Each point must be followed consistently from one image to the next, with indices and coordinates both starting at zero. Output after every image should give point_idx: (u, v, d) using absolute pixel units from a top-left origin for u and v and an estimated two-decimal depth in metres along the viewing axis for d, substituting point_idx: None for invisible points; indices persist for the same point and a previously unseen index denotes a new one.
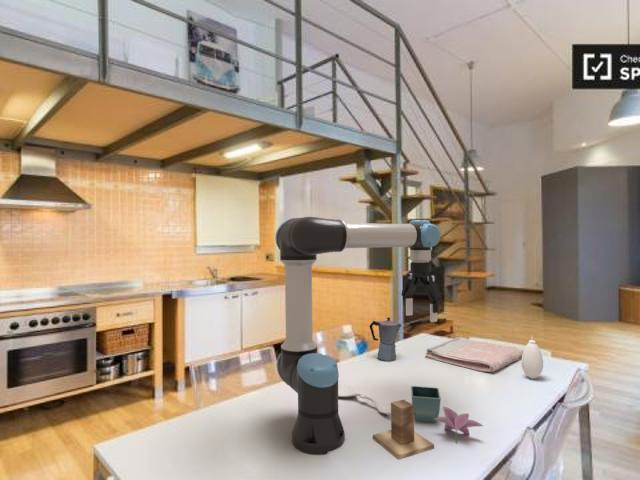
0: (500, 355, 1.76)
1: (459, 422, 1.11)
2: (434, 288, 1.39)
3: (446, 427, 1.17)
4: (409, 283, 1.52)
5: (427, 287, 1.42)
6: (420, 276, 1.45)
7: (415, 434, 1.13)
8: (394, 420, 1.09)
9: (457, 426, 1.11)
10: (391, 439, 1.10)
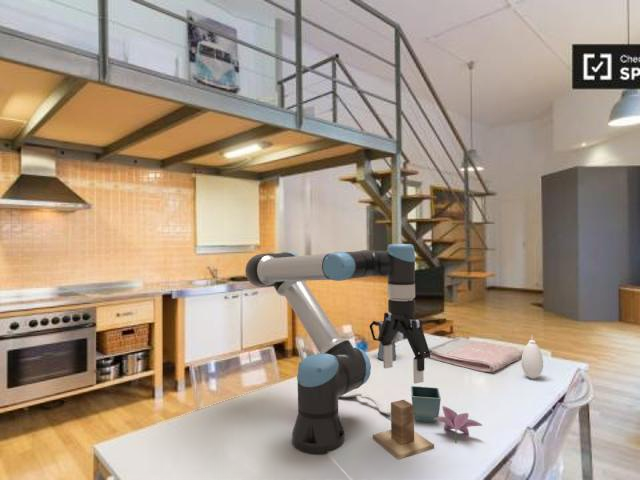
0: (500, 355, 1.76)
1: (459, 422, 1.12)
2: (419, 338, 1.02)
3: (446, 427, 1.17)
4: (388, 325, 1.16)
5: (410, 335, 1.06)
6: (401, 319, 1.08)
7: (415, 434, 1.13)
8: (394, 420, 1.09)
9: (456, 425, 1.12)
10: (391, 439, 1.10)
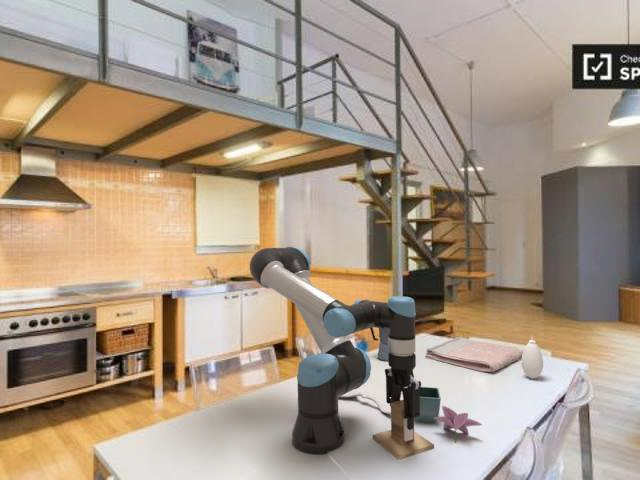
0: (500, 355, 1.76)
1: (458, 421, 1.12)
2: (414, 400, 1.04)
3: (445, 426, 1.18)
4: (392, 382, 1.14)
5: (406, 392, 1.07)
6: (402, 371, 1.08)
7: (415, 434, 1.13)
8: (394, 420, 1.09)
9: (456, 425, 1.12)
10: (391, 439, 1.10)
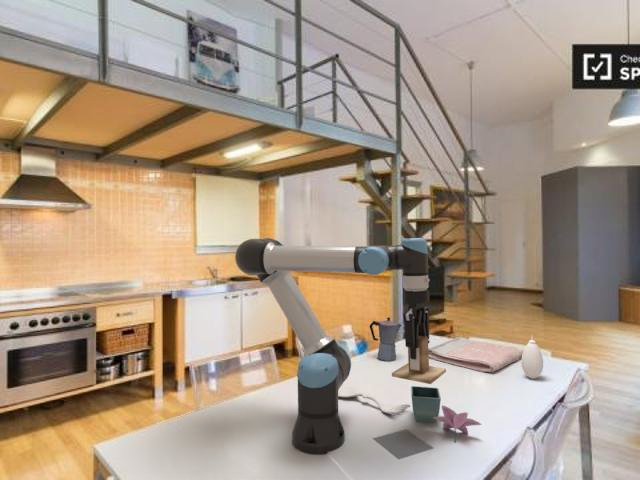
0: (500, 355, 1.76)
1: (458, 421, 1.12)
2: (406, 329, 1.13)
3: (445, 426, 1.18)
4: None
5: None
6: None
7: (436, 373, 1.15)
8: None
9: (455, 425, 1.12)
10: None
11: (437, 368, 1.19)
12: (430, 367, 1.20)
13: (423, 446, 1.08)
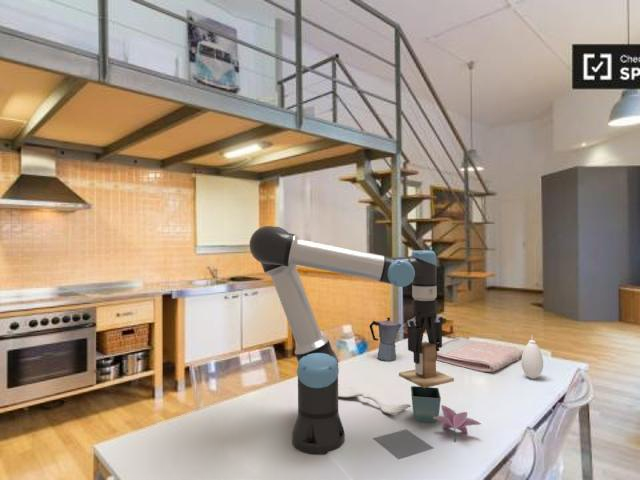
0: (500, 355, 1.76)
1: (458, 421, 1.12)
2: (408, 335, 1.23)
3: (444, 426, 1.18)
4: (436, 328, 1.27)
5: (416, 331, 1.24)
6: None
7: (438, 380, 1.21)
8: None
9: (455, 424, 1.12)
10: None
11: (446, 376, 1.24)
12: (440, 374, 1.25)
13: (423, 446, 1.08)
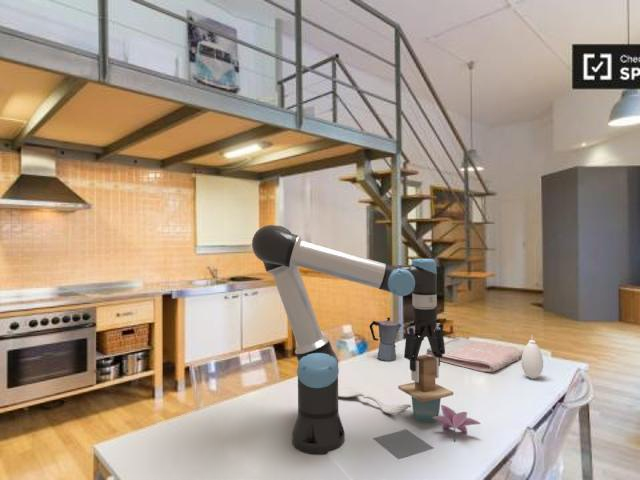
0: (500, 355, 1.76)
1: (457, 420, 1.12)
2: (406, 342, 1.23)
3: (444, 426, 1.18)
4: (437, 335, 1.27)
5: (415, 339, 1.24)
6: None
7: (437, 393, 1.21)
8: None
9: (455, 424, 1.12)
10: None
11: (445, 390, 1.24)
12: (440, 387, 1.25)
13: (423, 446, 1.08)
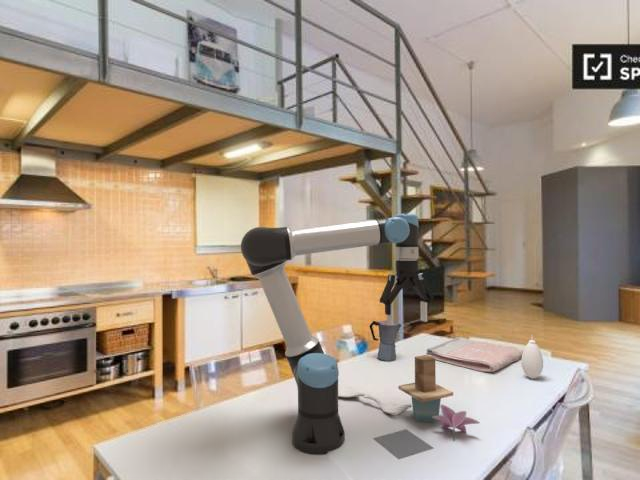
0: (500, 355, 1.76)
1: (457, 420, 1.13)
2: (385, 287, 1.29)
3: (443, 425, 1.18)
4: (423, 285, 1.34)
5: (395, 287, 1.31)
6: None
7: (437, 394, 1.21)
8: None
9: (454, 424, 1.13)
10: None
11: (445, 390, 1.24)
12: (440, 388, 1.25)
13: (423, 446, 1.08)
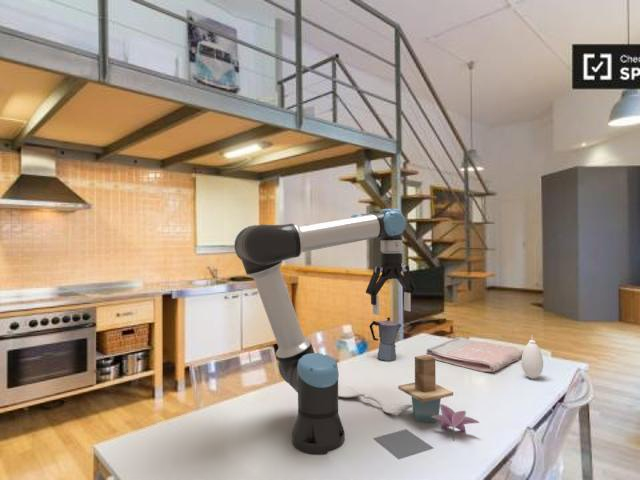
0: (500, 355, 1.76)
1: (456, 419, 1.13)
2: (371, 279, 1.36)
3: (443, 425, 1.19)
4: (406, 276, 1.42)
5: (380, 278, 1.38)
6: None
7: (437, 394, 1.21)
8: None
9: (454, 423, 1.13)
10: None
11: (445, 390, 1.24)
12: (440, 388, 1.25)
13: (423, 446, 1.08)
